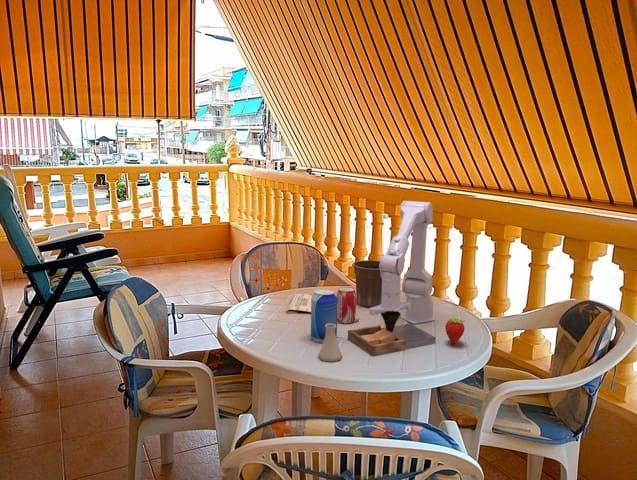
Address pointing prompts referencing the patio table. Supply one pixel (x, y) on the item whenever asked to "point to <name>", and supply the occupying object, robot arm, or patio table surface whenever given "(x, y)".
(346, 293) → the soda can
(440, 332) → the patio table surface
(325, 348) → the flask
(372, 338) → the tile
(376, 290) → the plant pot
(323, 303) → the beer can
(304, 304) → the newspaper
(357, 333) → the box
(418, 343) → the grey plate
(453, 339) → the strawberry
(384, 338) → the tile
